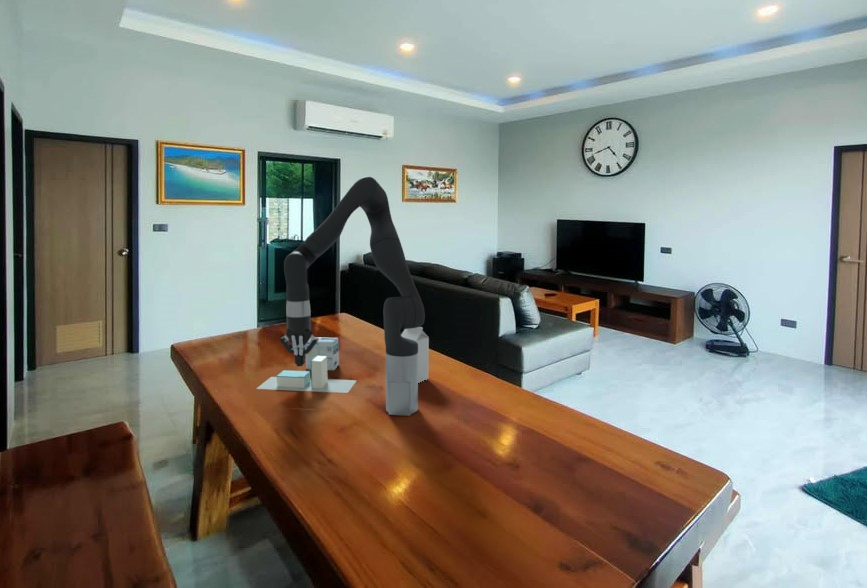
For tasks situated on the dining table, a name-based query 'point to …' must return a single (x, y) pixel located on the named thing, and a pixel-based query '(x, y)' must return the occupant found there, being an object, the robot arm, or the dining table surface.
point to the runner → (330, 386)
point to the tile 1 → (293, 378)
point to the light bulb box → (324, 352)
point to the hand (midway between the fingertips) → (300, 365)
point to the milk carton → (420, 350)
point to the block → (319, 372)
